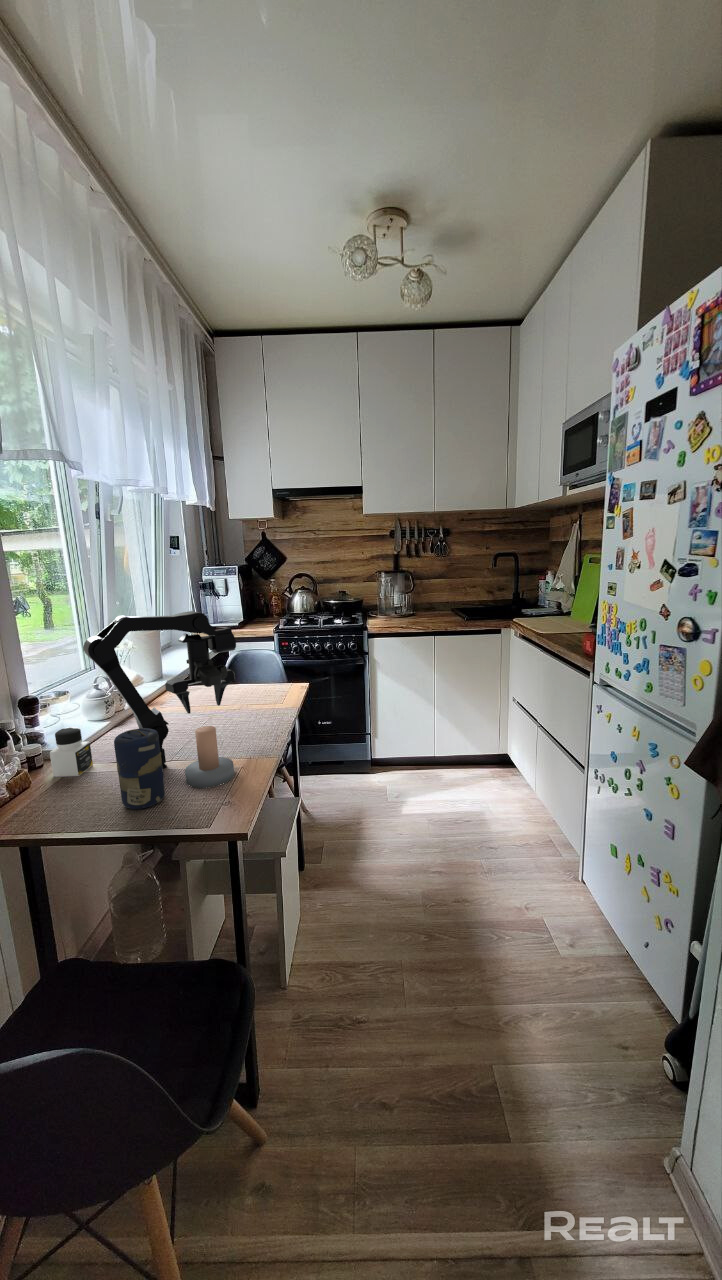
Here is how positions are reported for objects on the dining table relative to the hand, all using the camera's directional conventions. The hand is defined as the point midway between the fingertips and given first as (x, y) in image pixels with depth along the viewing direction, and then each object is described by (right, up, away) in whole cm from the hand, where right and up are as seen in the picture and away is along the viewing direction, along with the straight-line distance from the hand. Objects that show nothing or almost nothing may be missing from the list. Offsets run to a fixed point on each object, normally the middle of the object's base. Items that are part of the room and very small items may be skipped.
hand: (204, 709), depth 146 cm
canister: (-6, -19, -26) cm, 32 cm away
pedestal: (+6, -16, -14) cm, 22 cm away
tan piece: (+6, -13, -15) cm, 21 cm away
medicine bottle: (-33, -16, -7) cm, 38 cm away
